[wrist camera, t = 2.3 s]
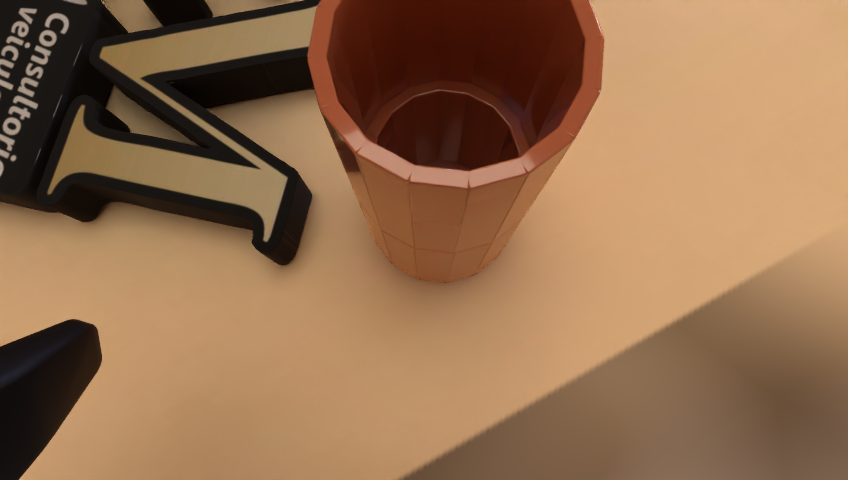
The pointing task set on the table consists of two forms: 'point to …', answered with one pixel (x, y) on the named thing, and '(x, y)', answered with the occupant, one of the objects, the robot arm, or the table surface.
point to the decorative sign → (161, 95)
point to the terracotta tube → (452, 116)
